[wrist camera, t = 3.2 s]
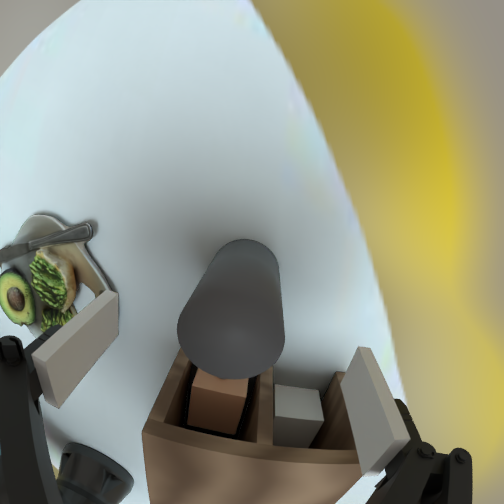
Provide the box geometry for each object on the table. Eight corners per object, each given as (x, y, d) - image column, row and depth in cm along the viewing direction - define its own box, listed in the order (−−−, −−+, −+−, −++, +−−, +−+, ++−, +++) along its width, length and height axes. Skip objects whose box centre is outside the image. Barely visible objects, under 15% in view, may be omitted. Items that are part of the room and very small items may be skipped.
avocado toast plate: (61, 163, 25) (32, 165, 20) (159, 300, 28) (141, 321, 24) (-4, 264, 29) (-26, 275, 24) (70, 367, 32) (53, 387, 27)
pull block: (192, 392, 31) (168, 466, 20) (218, 232, 25) (183, 276, 15) (243, 404, 31) (234, 481, 20) (286, 247, 25) (297, 301, 15)
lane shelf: (174, 432, 33) (150, 505, 21) (183, 342, 29) (141, 431, 17) (301, 454, 33) (306, 528, 21) (345, 372, 29) (374, 463, 17)
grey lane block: (262, 417, 31) (261, 448, 26) (274, 383, 30) (275, 415, 25) (301, 422, 31) (304, 453, 27) (318, 389, 30) (323, 420, 25)
